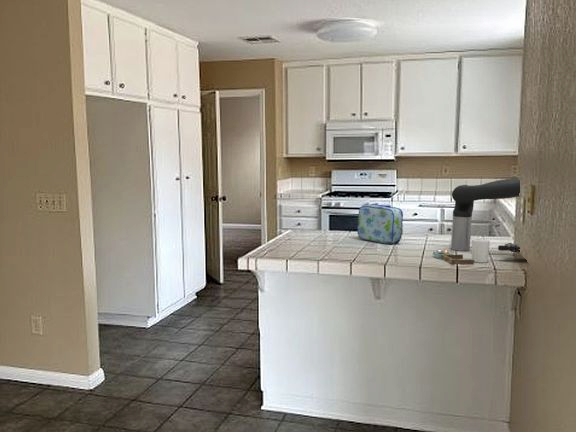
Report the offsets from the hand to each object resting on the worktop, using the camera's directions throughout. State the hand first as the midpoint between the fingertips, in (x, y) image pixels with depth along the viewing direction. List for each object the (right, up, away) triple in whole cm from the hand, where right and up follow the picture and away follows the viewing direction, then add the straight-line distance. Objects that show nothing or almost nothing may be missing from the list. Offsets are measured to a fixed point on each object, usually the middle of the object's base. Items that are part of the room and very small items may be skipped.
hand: (499, 248), depth 241 cm
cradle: (-19, -6, -2) cm, 20 cm away
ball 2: (-23, -3, +5) cm, 24 cm away
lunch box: (-47, 0, +49) cm, 68 cm away
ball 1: (-26, -3, +7) cm, 27 cm away
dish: (-24, -5, +7) cm, 26 cm away
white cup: (-9, -6, 0) cm, 11 cm away
